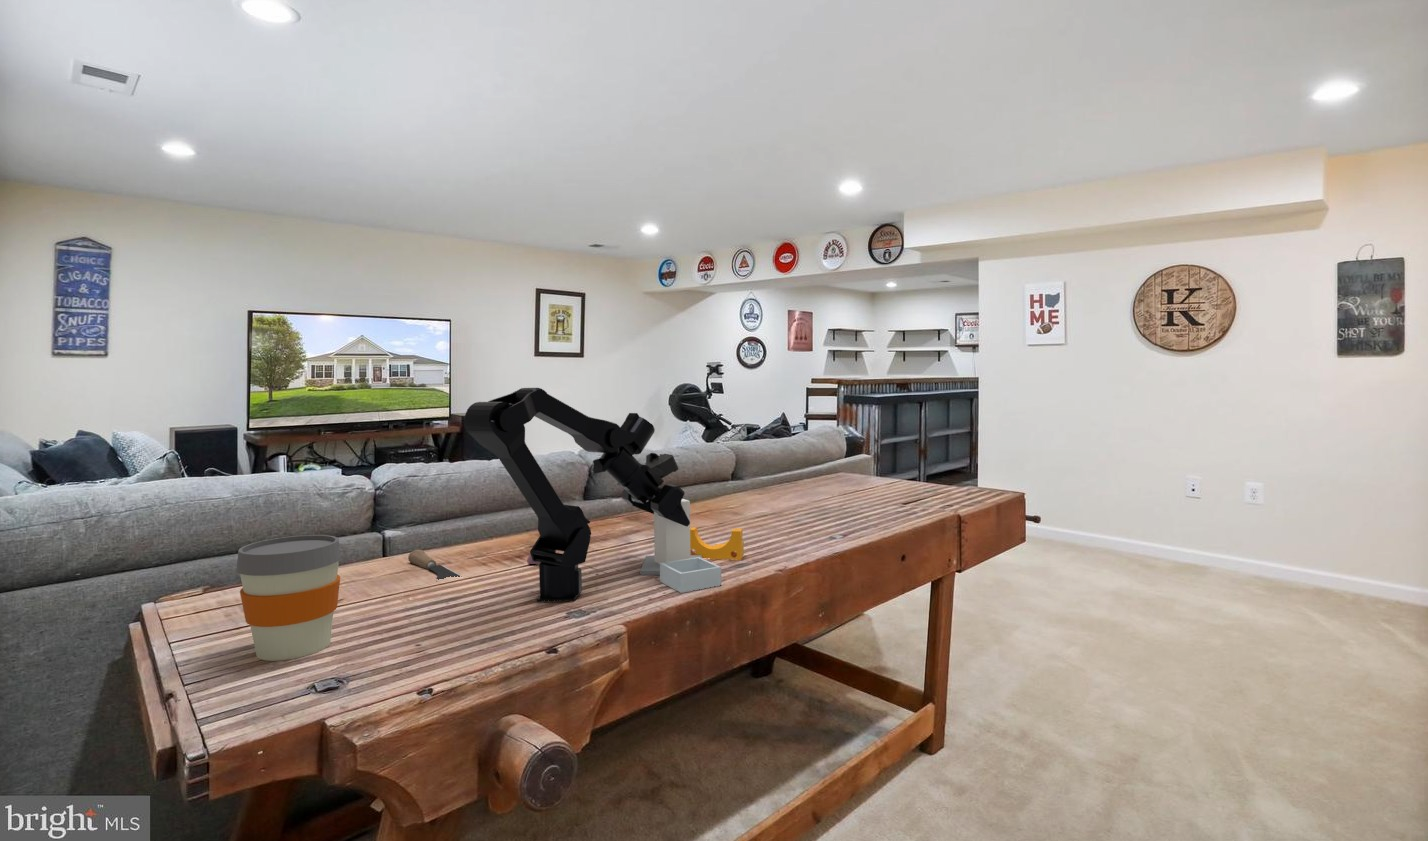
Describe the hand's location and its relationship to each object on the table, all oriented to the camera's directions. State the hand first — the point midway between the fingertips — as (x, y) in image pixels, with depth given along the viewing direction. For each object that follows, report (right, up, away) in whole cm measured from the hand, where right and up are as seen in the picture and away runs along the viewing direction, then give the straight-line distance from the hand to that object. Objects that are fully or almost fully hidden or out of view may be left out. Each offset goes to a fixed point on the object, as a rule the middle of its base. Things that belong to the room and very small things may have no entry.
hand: (677, 520), depth 136 cm
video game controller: (-29, -10, +6) cm, 31 cm away
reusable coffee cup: (-53, -12, -42) cm, 68 cm away
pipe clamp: (+8, -9, +8) cm, 14 cm away
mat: (-1, -9, 0) cm, 9 cm away
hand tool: (-48, -11, -4) cm, 49 cm away
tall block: (-1, -9, 0) cm, 9 cm away
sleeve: (+3, -10, -12) cm, 16 cm away
